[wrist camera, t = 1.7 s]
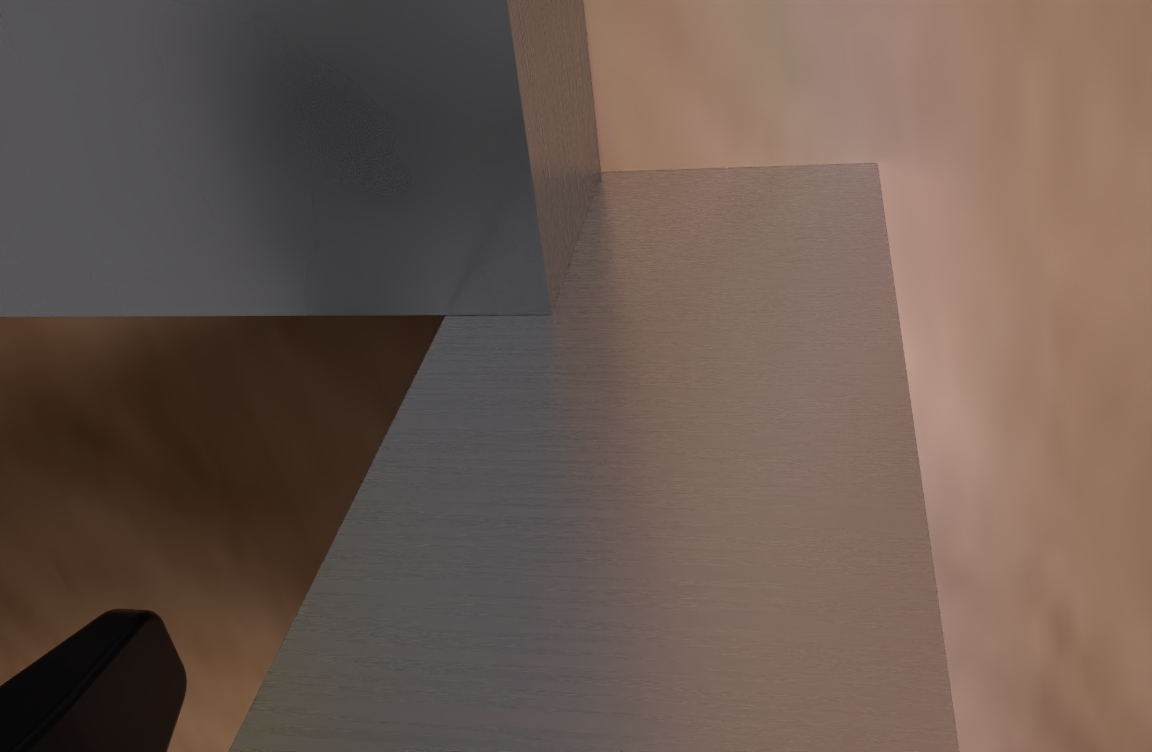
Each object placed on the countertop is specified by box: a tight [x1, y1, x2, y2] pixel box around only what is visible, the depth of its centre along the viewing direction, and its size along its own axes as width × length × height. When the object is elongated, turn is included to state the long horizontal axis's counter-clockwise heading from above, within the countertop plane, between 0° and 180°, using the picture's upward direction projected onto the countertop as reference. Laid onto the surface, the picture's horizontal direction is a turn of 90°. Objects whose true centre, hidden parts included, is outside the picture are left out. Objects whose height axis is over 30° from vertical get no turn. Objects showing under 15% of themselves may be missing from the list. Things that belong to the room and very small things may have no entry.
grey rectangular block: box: [228, 163, 959, 752], centre depth 10 cm, size 4×4×8 cm
